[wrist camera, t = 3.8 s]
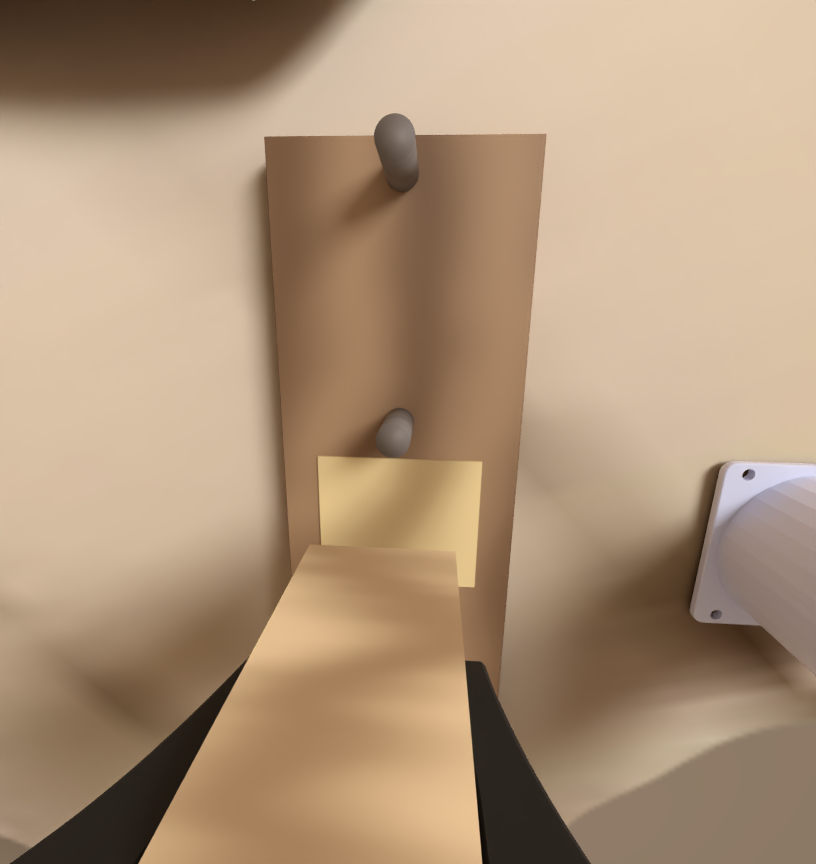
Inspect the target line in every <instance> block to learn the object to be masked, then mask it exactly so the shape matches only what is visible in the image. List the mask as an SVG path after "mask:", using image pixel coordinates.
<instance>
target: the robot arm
mask: <svg viewBox="0 0 816 864" xmlns="http://www.w3.org/2000/svg"><path fill="white" fill-rule="evenodd" d="M746 470H749V472H748V474H747V475H746V476H745V477H742V474H743V472H744V471H746ZM714 610H716V611H715V612H714V613H713V614H711V612H712V611H714ZM690 613H691V615H692V616H693V617H694V618H695V620H697V621H698V622H703V623H721V624H740V625H759V626H762V627H763V628H764V629H765V630H766V631H767V632H768V633H769V634H771V635H772V636H773V637H774V638H775V639H776V640H777V641H778V642H779V643H780V644H781V645H782V646H784V647H785V648H786V649H787V650H788V651H789V652H790V653H791V654H792V655H793V656H794V657H795V658H797V659H798V660H799V661H800V662H801V663H802V664H803V665H804V666H805V667H806V668H807V669H809V670H810V671H811V672H812V673H813V674H814V675H815V676H816V464H814V463H783V462H753V461H729V462H727V463H725V464H724V465H723V466H722V467H721V469H720V471H719V475H718V480H717V484H716V489H715V494H714V498H713V503H712V508H711V512H710V517H709V522H708V526H707V531H706V536H705V540H704V545H703V550H702V554H701V559H700V564H699V568H698V573H697V578H696V582H695V587H694V592H693V596H692V601H691V606H690ZM247 660H248V659H247ZM247 660H246V661H245V662H244V663H243V664H242V665H241V666H240V667H239V668H238V669H237V670H236V671H235V672H234V673H233V674H232V675H231V676H230V677H229V678H228V679H227V680H226V681H225V682H224V683H223V684H222V685H221V686H220V687H219V688H218V689H217V690H216V691H215V692H214V693H213V694H212V695H211V696H210V697H209V698H208V699H207V700H206V701H205V702H204V703H203V704H202V705H201V706H200V707H199V708H198V709H197V710H196V711H195V712H194V713H193V714H192V715H191V716H190V717H189V718H188V719H187V720H186V721H185V722H183V723H182V724H181V725H180V726H179V727H178V728H177V729H176V730H175V731H174V732H173V733H172V734H171V735H170V736H168V737H167V738H166V739H165V740H164V741H163V742H162V743H161V744H160V745H158V746H157V747H156V748H155V749H154V750H153V751H152V752H151V753H150V754H149V755H147V756H146V757H145V758H144V759H143V760H142V761H141V762H140V763H139V764H137V765H136V766H135V767H134V768H133V769H132V770H130V771H129V772H128V773H127V774H126V775H125V776H123V777H122V778H121V779H120V780H119V781H118V782H116V783H115V784H114V785H113V786H112V787H110V788H109V789H108V790H107V791H105V792H104V793H103V794H102V795H101V796H99V797H98V798H97V799H96V800H94V801H93V802H92V803H91V804H89V805H88V806H87V807H86V808H84V809H83V810H82V811H81V812H79V813H78V814H77V815H75V816H74V817H73V818H72V819H70V820H69V821H68V822H66V823H65V824H64V825H62V826H61V827H60V828H58V829H57V830H56V831H54V832H53V833H51V834H50V835H49V836H47V837H46V838H45V839H43V840H42V841H41V842H39V843H38V844H36V845H35V846H34V847H32V848H31V849H30V850H28V851H27V852H26V853H24V854H23V855H21V856H20V857H19V858H17V859H16V860H15V861H13V862H12V863H10V864H139V862H140V860H141V858H142V856H143V854H144V852H145V851H146V849H147V847H148V845H149V843H150V841H151V839H152V837H153V836H154V834H155V832H156V830H157V828H158V826H159V824H160V823H161V821H162V819H163V817H164V815H165V813H166V811H167V810H168V808H169V806H170V804H171V802H172V800H173V798H174V796H175V795H176V793H177V791H178V789H179V787H180V785H181V783H182V782H183V780H184V778H185V776H186V774H187V772H188V770H189V768H190V767H191V765H192V763H193V761H194V759H195V757H196V755H197V754H198V752H199V750H200V748H201V746H202V744H203V742H204V741H205V739H206V737H207V735H208V733H209V731H210V729H211V727H212V726H213V724H214V722H215V720H216V718H217V716H218V714H219V713H220V711H221V709H222V707H223V705H224V703H225V701H226V699H227V698H228V696H229V694H230V692H231V690H232V688H233V686H234V685H235V683H236V681H237V679H238V677H239V675H240V673H241V672H242V670H243V668H244V666H245V664H246V662H247ZM465 668H466V680H467V691H468V703H469V715H470V726H471V738H472V750H473V762H474V773H475V785H476V797H477V808H478V820H479V832H480V843H481V855H482V864H591V863H590V862H589V860H588V859H587V857H586V856H585V854H584V853H583V851H582V850H581V848H580V846H579V845H578V843H577V842H576V840H575V839H574V837H573V836H572V834H571V833H570V831H569V829H568V828H567V826H566V825H565V823H564V821H563V820H562V818H561V817H560V815H559V813H558V812H557V810H556V808H555V807H554V805H553V803H552V802H551V800H550V798H549V797H548V795H547V793H546V791H545V790H544V788H543V786H542V784H541V783H540V781H539V779H538V777H537V776H536V774H535V772H534V770H533V768H532V767H531V765H530V763H529V761H528V759H527V757H526V755H525V753H524V751H523V750H522V748H521V746H520V744H519V742H518V740H517V738H516V736H515V734H514V732H513V730H512V728H511V726H510V724H509V722H508V720H507V718H506V715H505V713H504V711H503V709H502V707H501V704H500V702H499V700H498V698H497V695H496V693H495V691H494V688H493V686H492V683H491V680H490V678H489V675H488V672H487V669H486V666H485V665H484V664H483V663H482V662H481V661H466V660H465Z"/></svg>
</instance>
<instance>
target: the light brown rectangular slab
mask: <svg viewBox="0 0 816 864" xmlns="http://www.w3.org/2000/svg"><path fill="white" fill-rule="evenodd" d="M139 864H482V855H481V843H480V832H479V820H478V808H477V797H476V785H475V773H474V762H473V750H472V738H471V726H470V715H469V703H468V691H467V680H466V668H465V656H464V645H463V633H462V621H461V610H460V598H459V586H458V575H457V563H456V551H442V550H420V549H398V548H377V547H355V546H333V545H311V544H310V545H309V547H308V548H307V550H306V552H305V554H304V556H303V558H302V560H301V562H300V563H299V565H298V567H297V569H296V571H295V573H294V575H293V576H292V578H291V580H290V582H289V584H288V586H287V588H286V589H285V591H284V593H283V595H282V597H281V599H280V601H279V603H278V604H277V606H276V608H275V610H274V612H273V614H272V616H271V617H270V619H269V621H268V623H267V625H266V627H265V629H264V631H263V632H262V634H261V636H260V638H259V640H258V642H257V644H256V645H255V647H254V649H253V651H252V653H251V655H250V657H249V658H248V660H247V662H246V664H245V666H244V668H243V670H242V672H241V673H240V675H239V677H238V679H237V681H236V683H235V685H234V686H233V688H232V690H231V692H230V694H229V696H228V698H227V699H226V701H225V703H224V705H223V707H222V709H221V711H220V713H219V714H218V716H217V718H216V720H215V722H214V724H213V726H212V727H211V729H210V731H209V733H208V735H207V737H206V739H205V741H204V742H203V744H202V746H201V748H200V750H199V752H198V754H197V755H196V757H195V759H194V761H193V763H192V765H191V767H190V768H189V770H188V772H187V774H186V776H185V778H184V780H183V782H182V783H181V785H180V787H179V789H178V791H177V793H176V795H175V796H174V798H173V800H172V802H171V804H170V806H169V808H168V810H167V811H166V813H165V815H164V817H163V819H162V821H161V823H160V824H159V826H158V828H157V830H156V832H155V834H154V836H153V837H152V839H151V841H150V843H149V845H148V847H147V849H146V851H145V852H144V854H143V856H142V858H141V860H140V862H139Z"/></svg>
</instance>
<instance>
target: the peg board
mask: <svg viewBox="0 0 816 864" xmlns="http://www.w3.org/2000/svg"><path fill="white" fill-rule="evenodd" d="M264 140H265V156H266V172H267V189H268V205H269V221H270V237H271V253H272V269H273V285H274V302H275V318H276V334H277V350H278V366H279V382H280V398H281V415H282V431H283V447H284V463H285V479H286V495H287V512H288V528H289V544H290V560H291V576H293V575H294V573H295V571H296V569H297V567H298V565H299V563H300V562H301V560H302V558H303V556H304V554H305V552H306V550H307V548H308V547H309V545H310V544H311V545H333V546H355V547H377V548H398V549H420V550H442V551H456V563H457V575H458V586H459V598H460V610H461V621H462V633H463V645H464V656H465V660H466V661H481V662H482V663H483V664H484V665H485V666H486V669H487V672H488V675H489V678H490V680H491V683H492V686H493V688H494V691H495V693H496V695H497V698H498V691H499V680H500V668H501V656H502V645H503V633H504V622H505V610H506V598H507V587H508V575H509V563H510V552H511V540H512V528H513V517H514V505H515V494H516V482H517V470H518V459H519V447H520V435H521V424H522V412H523V401H524V389H525V377H526V366H527V354H528V342H529V331H530V319H531V307H532V296H533V284H534V273H535V261H536V249H537V238H538V226H539V214H540V203H541V191H542V180H543V168H544V156H545V145H546V134H501V135H415V131H414V127H413V125H412V123H411V122H410V120H409V119H408V118H406V117H405V116H403V115H401V114H396V113H394V114H389V115H387V116H385V117H383V118H382V119H381V120H380V121H379V123H378V124H377V126H376V129H375V133H374V136H288V137H264Z"/></svg>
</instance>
